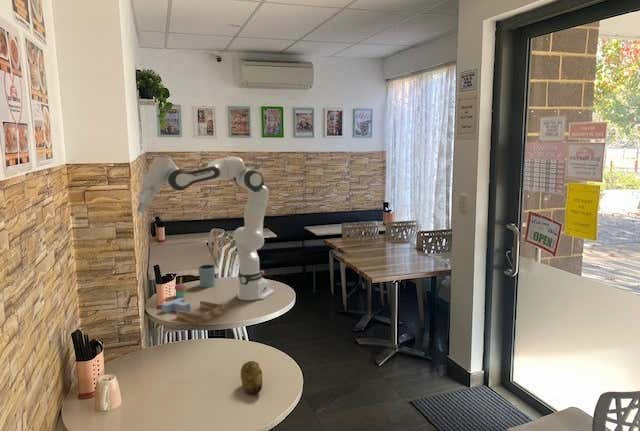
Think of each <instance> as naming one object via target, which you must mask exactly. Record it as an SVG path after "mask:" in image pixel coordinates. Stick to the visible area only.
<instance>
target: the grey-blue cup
mask: <svg viewBox="0 0 640 431" xmlns="http://www.w3.org/2000/svg"><path fill="white" fill-rule="evenodd" d="M197 270H198V275H199V284H200V285H199V286H200V287H201V288H212V287H214V286H216V285H215V283H216V280H215V279H216V276H215V275H216V265H214V264H201V265H199V266H198V268H197Z"/></svg>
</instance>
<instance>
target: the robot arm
mask: <svg viewBox="0 0 640 431" xmlns="http://www.w3.org/2000/svg"><path fill="white" fill-rule="evenodd" d="M232 178H233V180H234V183H235V185H236V186H238V187H239V188H242V189H246V190H247V192H248V197H247V200H246V204H245V209H244V212H243V219H244V226H240V227H238V228H236V229H235V230H234V232H233V240H234V242H235V245H236V246H235V247H236V250H237V256H238V265H239V267H238V268H239V272H238V279H239V281H238V286H237V292H236V296H237V299H239V300H241V301H255V300H256V301H257V300H265V299H266V298H267V297H269V296H271V294H273V293H275V289H273V288H271V287H270V286H271V285H270V282H269V280H267V279H265V278H264V277H263V276H262V275H265V270H260V257H259V255H258V252H257V250H260V249H261V248H262V247H263V246H264V243H265V236H264V220H265V219H264V218H265V215H266V210H267V206H268V200H269V189H268V187H266V186H265V183H264V176H263V173H261V172H260V171H259V170H258V169H254V168H247V167H246V166H245V163H244V161H243V159H242V158H240V157H238V156H229V157H222V158H216V159H214V160H212V161H209V162H208V164H207V166H205V167H203V168H197V169H193V170H184V169H179V168H178V167H177V165H176V164H175V163H174V161H173V160H172V158H170V157H168V156H164V155H157V156H155V158H154V159H153V161H152V162H151V164H150V167H149V169H148V172H147V174H146V175H145V177H144V179H143V181H142V183H141V185H140V186H141V190H140V193H139V195H138V197H137V201H138V202H139V203H138V204H137V208H136V211H137V212H139V213H140V214H141V215H142V214H144V213H145V211H146V210H147V208H148V207H151V206H152V203H153V202H154V199H155V196H156V194H157V193H158V194H159V193H160V192H161V190H162V187H163V185H164V184H165V185H166V186H168V187H169V188H171V189H174V190H176V191H184V190H186V189H187V188H189V187H190V186H192V185H194V184H196V183H201V182H205V181H223V180H227V179H232Z"/></svg>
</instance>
